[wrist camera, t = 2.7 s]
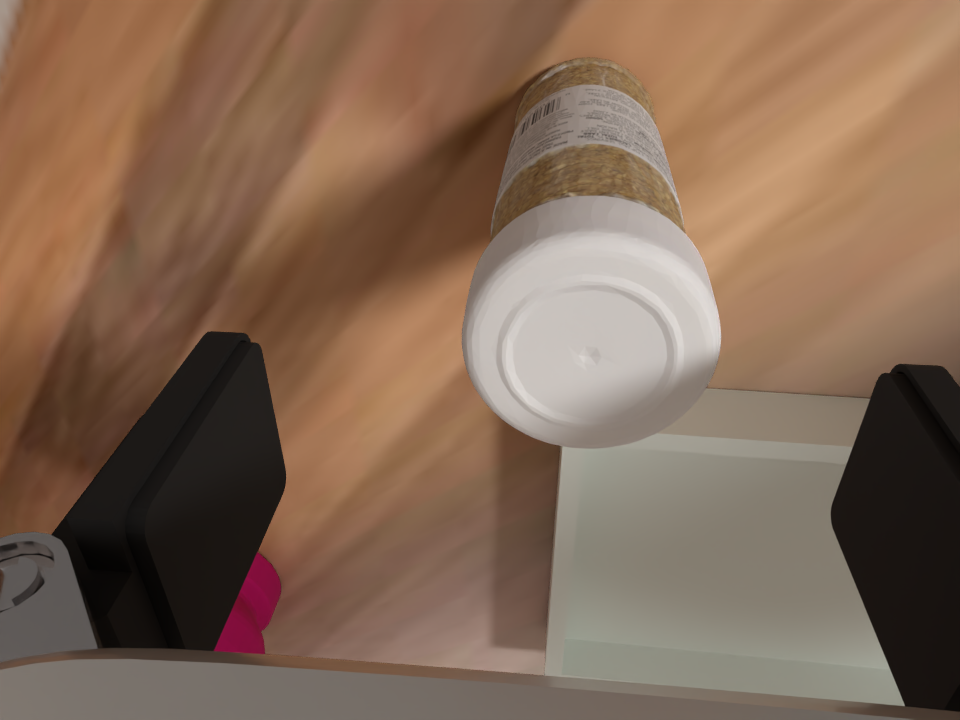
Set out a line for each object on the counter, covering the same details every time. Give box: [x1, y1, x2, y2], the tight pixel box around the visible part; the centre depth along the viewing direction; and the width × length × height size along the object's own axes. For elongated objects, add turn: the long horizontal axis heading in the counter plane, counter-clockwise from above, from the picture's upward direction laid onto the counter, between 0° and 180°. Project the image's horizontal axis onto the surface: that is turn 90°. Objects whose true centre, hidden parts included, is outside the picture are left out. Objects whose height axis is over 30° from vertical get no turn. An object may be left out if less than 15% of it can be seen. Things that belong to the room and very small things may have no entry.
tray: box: [544, 388, 905, 706], centre depth 32 cm, size 20×16×3 cm
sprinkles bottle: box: [462, 58, 721, 449], centre depth 18 cm, size 5×5×14 cm
